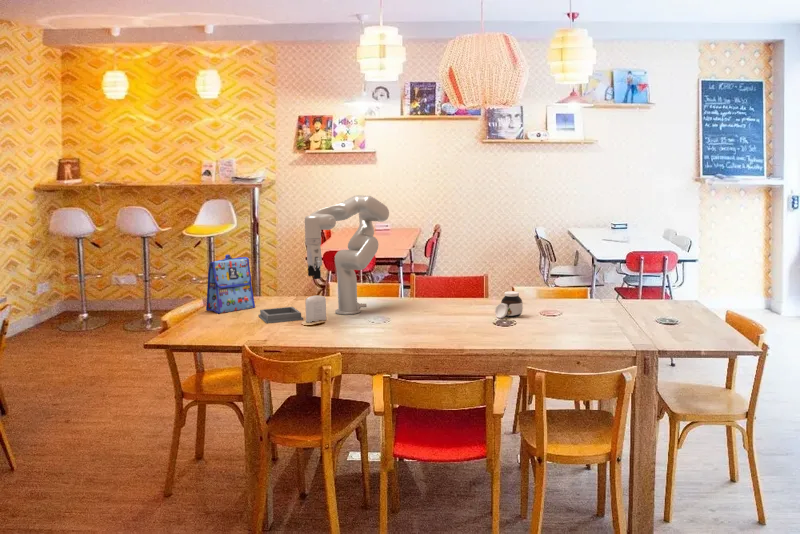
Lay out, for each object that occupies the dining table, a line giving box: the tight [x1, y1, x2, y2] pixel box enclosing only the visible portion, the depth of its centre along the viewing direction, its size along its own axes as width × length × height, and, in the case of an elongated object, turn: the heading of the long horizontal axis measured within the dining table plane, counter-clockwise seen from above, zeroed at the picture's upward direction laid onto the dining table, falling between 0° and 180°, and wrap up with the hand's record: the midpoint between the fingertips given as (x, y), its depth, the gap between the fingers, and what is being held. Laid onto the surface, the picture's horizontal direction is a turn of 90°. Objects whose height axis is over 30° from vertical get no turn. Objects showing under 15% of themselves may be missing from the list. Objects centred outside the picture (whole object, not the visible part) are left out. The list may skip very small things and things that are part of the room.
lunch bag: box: [205, 254, 256, 314], centre depth 443 cm, size 22×14×29 cm, turn 131°
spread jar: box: [494, 290, 524, 319], centre depth 411 cm, size 12×11×12 cm
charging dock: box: [258, 306, 304, 325], centre depth 420 cm, size 18×18×4 cm
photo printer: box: [304, 294, 327, 323], centre depth 411 cm, size 10×4×12 cm, turn 123°
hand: (314, 277), depth 409 cm, fingers open, 9 cm apart
